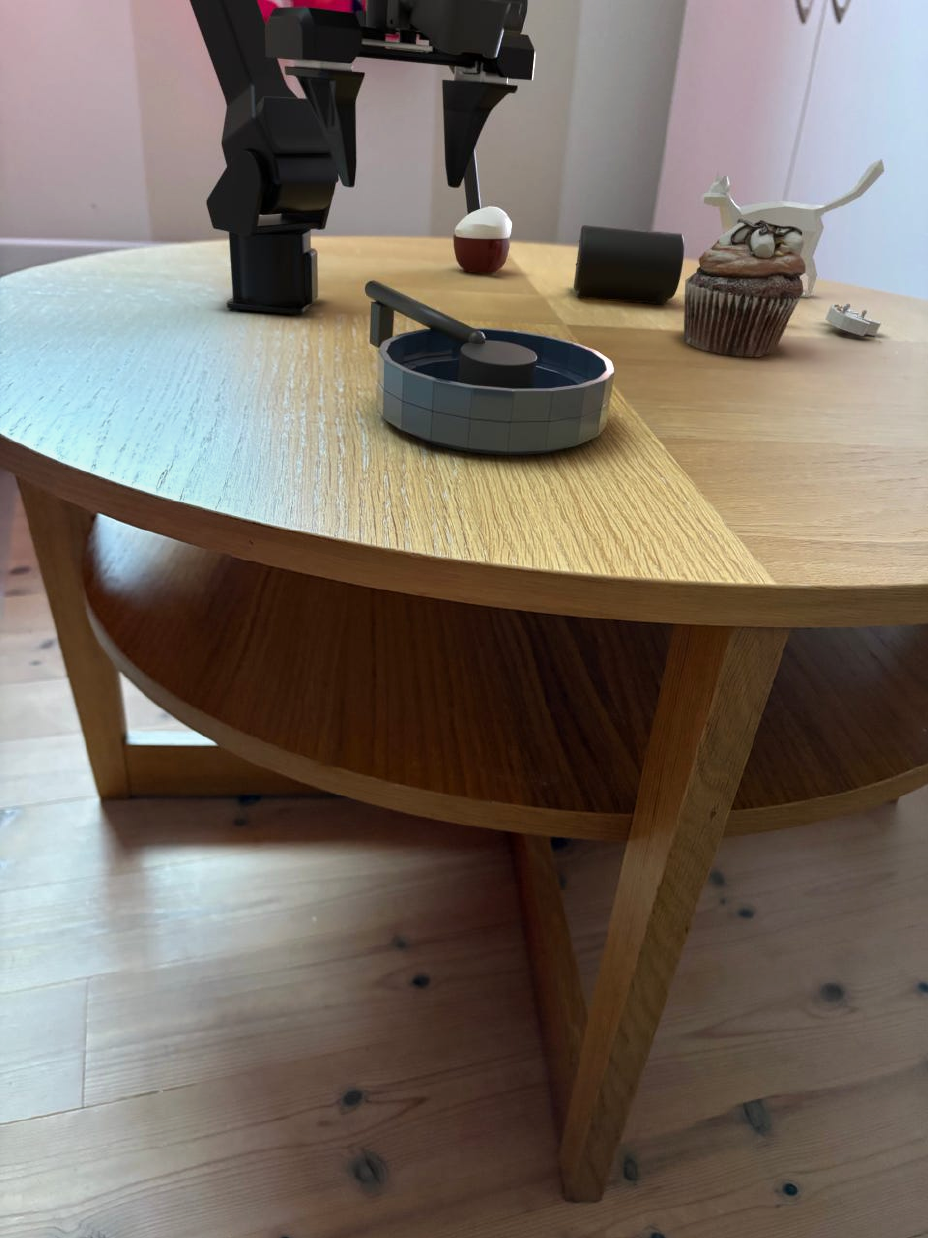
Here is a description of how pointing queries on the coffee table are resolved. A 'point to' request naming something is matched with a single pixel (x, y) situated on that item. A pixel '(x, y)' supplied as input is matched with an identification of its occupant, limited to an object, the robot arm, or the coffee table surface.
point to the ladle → (477, 354)
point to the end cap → (628, 264)
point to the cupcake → (745, 290)
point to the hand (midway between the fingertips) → (403, 186)
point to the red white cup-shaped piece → (481, 230)
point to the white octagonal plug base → (851, 320)
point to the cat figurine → (787, 213)
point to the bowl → (494, 395)
